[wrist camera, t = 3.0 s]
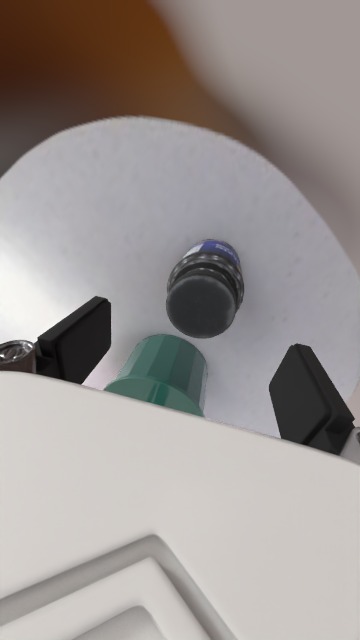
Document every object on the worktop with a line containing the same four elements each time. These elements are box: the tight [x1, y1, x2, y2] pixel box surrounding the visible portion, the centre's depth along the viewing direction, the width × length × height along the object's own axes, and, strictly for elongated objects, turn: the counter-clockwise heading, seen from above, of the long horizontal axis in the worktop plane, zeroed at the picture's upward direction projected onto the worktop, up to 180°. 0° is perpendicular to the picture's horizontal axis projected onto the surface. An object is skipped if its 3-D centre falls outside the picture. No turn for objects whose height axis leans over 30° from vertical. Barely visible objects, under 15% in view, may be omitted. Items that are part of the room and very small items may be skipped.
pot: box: [116, 335, 207, 411], centre depth 28 cm, size 12×12×8 cm
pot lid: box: [103, 375, 205, 418], centre depth 22 cm, size 13×13×6 cm
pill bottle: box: [166, 239, 244, 338], centre depth 18 cm, size 6×6×11 cm
